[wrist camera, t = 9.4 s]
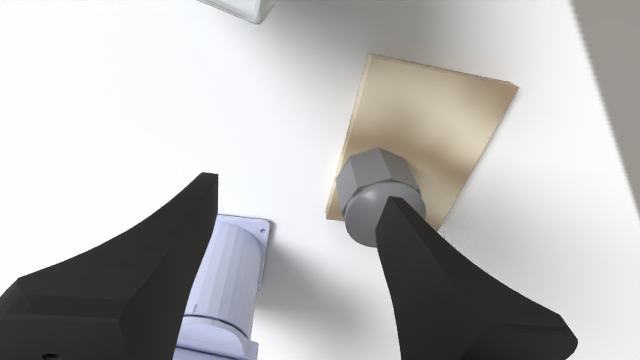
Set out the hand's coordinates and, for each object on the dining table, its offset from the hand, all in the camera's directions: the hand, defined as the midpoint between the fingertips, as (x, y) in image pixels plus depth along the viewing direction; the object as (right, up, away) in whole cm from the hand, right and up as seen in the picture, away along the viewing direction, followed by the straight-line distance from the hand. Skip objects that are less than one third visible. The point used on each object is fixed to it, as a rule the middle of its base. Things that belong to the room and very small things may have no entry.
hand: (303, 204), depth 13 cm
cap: (+5, +1, +10) cm, 12 cm away
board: (+7, +3, +11) cm, 13 cm away
